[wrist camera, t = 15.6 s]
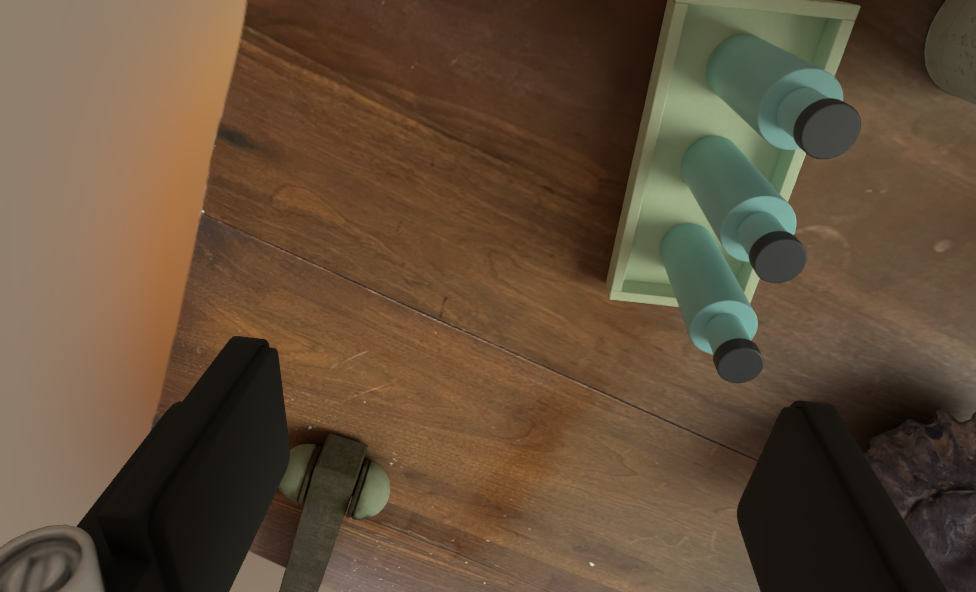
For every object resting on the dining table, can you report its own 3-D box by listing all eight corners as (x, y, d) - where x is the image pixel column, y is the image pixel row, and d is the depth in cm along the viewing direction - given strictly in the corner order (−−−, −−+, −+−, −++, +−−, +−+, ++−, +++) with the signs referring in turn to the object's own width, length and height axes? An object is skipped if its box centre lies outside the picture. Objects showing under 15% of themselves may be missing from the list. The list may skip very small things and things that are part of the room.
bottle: (666, 220, 45) (714, 332, 32) (720, 226, 45) (789, 341, 32) (653, 267, 47) (695, 389, 34) (705, 272, 47) (765, 397, 34)
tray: (670, -16, 37) (678, -13, 35) (842, 1, 37) (861, 5, 35) (605, 282, 49) (608, 299, 46) (736, 297, 48) (746, 314, 46)
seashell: (1026, 438, 54) (854, 370, 57) (1161, 458, 41) (931, 369, 44) (947, 646, 53) (776, 565, 56) (1062, 732, 40) (833, 621, 43)
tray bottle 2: (689, 132, 41) (753, 220, 29) (747, 138, 41) (836, 229, 29) (674, 187, 43) (728, 291, 31) (730, 193, 43) (806, 300, 31)
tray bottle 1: (715, 30, 38) (801, 80, 25) (779, 37, 38) (896, 90, 25) (698, 95, 40) (770, 170, 28) (759, 101, 40) (858, 180, 27)
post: (343, 603, 76) (404, 450, 60) (330, 649, 71) (392, 496, 56) (256, 579, 75) (294, 417, 59) (236, 625, 70) (272, 461, 54)
